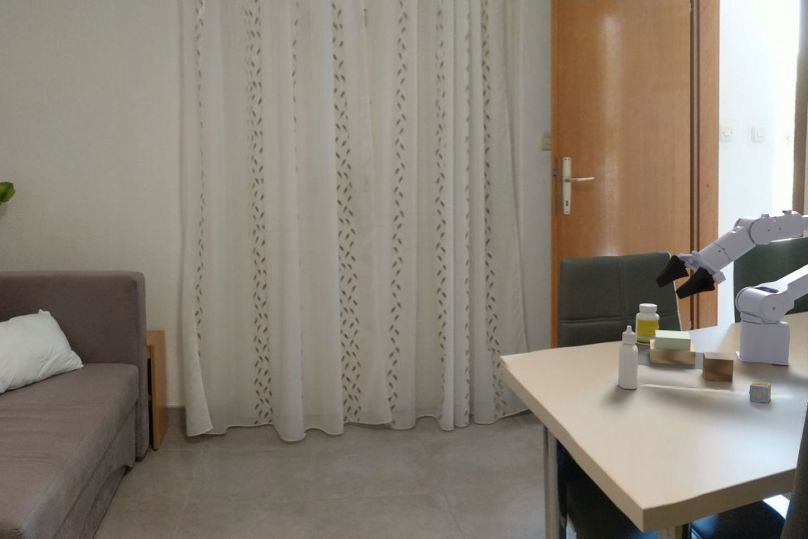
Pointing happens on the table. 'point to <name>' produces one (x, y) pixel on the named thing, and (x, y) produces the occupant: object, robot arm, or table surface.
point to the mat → (645, 360)
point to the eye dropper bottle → (628, 360)
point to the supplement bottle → (646, 324)
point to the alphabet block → (760, 392)
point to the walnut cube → (718, 366)
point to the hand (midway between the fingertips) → (667, 289)
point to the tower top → (672, 340)
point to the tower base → (672, 355)
